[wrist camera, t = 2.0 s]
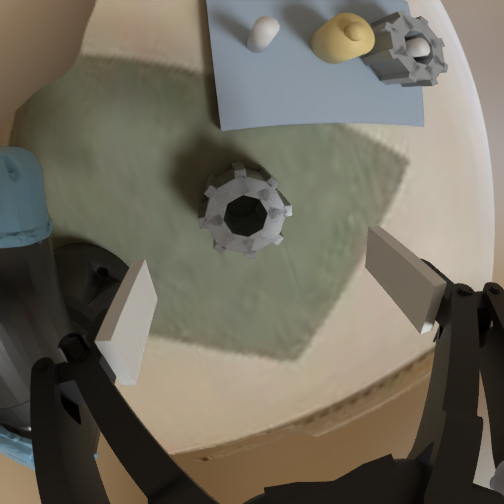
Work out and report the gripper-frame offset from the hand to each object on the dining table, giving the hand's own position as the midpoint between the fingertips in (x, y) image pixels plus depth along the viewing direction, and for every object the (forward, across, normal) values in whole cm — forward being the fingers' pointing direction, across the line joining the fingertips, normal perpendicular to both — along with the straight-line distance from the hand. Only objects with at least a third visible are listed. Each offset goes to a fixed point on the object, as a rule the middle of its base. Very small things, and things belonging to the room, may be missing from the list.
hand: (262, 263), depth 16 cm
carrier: (+13, +10, +15) cm, 22 cm away
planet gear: (+13, 0, 0) cm, 13 cm away
